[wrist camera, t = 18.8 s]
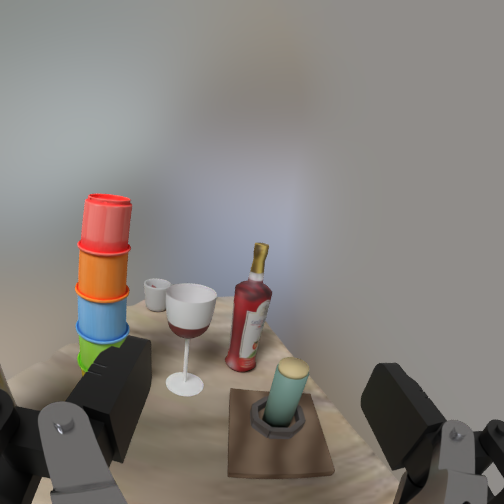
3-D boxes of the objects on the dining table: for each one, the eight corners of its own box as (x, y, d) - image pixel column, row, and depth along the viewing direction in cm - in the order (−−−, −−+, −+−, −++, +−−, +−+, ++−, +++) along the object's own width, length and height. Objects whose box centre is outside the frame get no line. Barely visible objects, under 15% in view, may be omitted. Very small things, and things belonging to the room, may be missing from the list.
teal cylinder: (263, 430, 39) (280, 375, 36) (260, 410, 44) (275, 355, 41) (292, 430, 39) (314, 376, 36) (287, 411, 44) (306, 357, 41)
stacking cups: (118, 367, 48) (119, 192, 41) (143, 398, 42) (147, 199, 35) (74, 379, 41) (61, 190, 33) (94, 414, 34) (74, 197, 27)
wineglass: (155, 378, 49) (157, 287, 44) (189, 366, 55) (197, 280, 51) (178, 403, 44) (183, 307, 39) (214, 387, 50) (227, 297, 46)
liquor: (239, 353, 64) (259, 239, 58) (262, 368, 59) (288, 248, 53) (216, 363, 58) (234, 240, 52) (240, 379, 54) (265, 250, 48)
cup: (168, 299, 86) (170, 276, 84) (182, 309, 81) (184, 285, 79) (139, 304, 78) (139, 279, 76) (151, 316, 73) (151, 290, 71)
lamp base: (227, 476, 30) (230, 466, 29) (229, 393, 49) (232, 380, 48) (331, 475, 31) (339, 464, 30) (308, 398, 50) (313, 386, 50)
